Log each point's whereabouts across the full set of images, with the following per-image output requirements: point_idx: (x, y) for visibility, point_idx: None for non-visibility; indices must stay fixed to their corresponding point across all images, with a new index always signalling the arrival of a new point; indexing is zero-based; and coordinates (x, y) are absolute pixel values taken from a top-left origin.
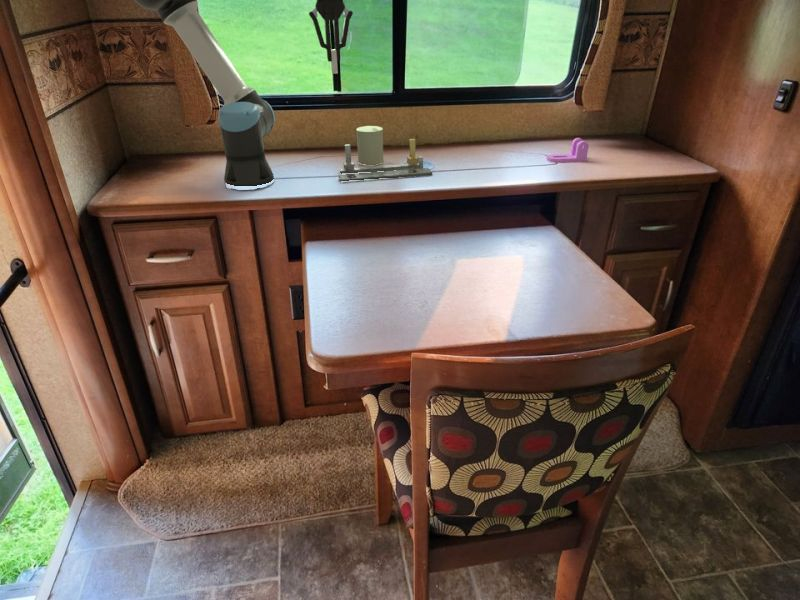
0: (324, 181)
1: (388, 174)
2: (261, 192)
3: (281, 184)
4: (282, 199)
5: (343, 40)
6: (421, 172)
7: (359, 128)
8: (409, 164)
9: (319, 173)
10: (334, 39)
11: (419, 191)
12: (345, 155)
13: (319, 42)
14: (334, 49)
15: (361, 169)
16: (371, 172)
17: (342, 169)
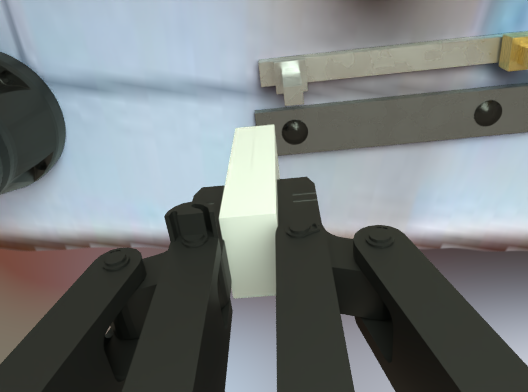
0: (212, 133)
1: (406, 130)
2: (55, 194)
3: (91, 140)
4: (122, 245)
5: (389, 352)
6: (510, 127)
7: None
8: (500, 66)
9: (191, 49)
10: (276, 292)
11: (449, 242)
12: (282, 77)
13: (76, 290)
14: (267, 239)
15: (330, 79)
16: (358, 103)
17: (268, 69)
